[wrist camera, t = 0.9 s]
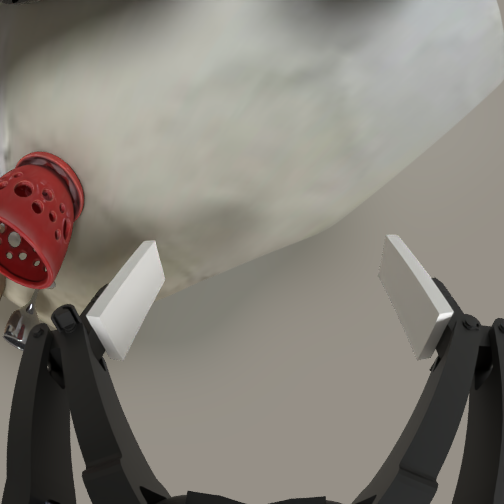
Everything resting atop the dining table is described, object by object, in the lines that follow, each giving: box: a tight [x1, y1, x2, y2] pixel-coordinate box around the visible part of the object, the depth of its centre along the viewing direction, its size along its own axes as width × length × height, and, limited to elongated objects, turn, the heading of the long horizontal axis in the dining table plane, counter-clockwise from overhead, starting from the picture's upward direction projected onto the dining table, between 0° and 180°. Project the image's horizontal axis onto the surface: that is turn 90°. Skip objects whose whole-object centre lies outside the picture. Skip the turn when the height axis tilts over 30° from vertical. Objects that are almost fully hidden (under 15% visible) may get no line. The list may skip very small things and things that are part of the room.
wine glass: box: [3, 282, 55, 351], centre depth 37 cm, size 8×8×15 cm
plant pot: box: [0, 152, 84, 289], centre depth 23 cm, size 13×13×12 cm
